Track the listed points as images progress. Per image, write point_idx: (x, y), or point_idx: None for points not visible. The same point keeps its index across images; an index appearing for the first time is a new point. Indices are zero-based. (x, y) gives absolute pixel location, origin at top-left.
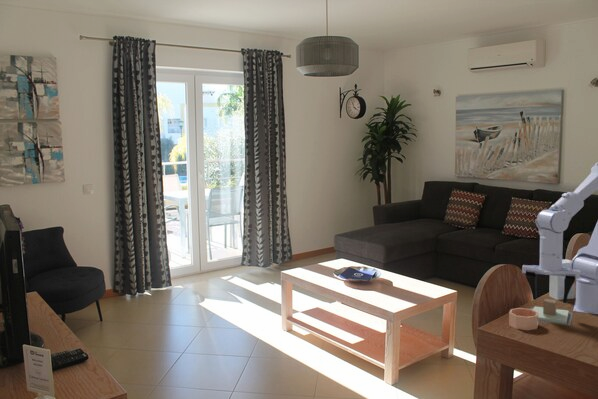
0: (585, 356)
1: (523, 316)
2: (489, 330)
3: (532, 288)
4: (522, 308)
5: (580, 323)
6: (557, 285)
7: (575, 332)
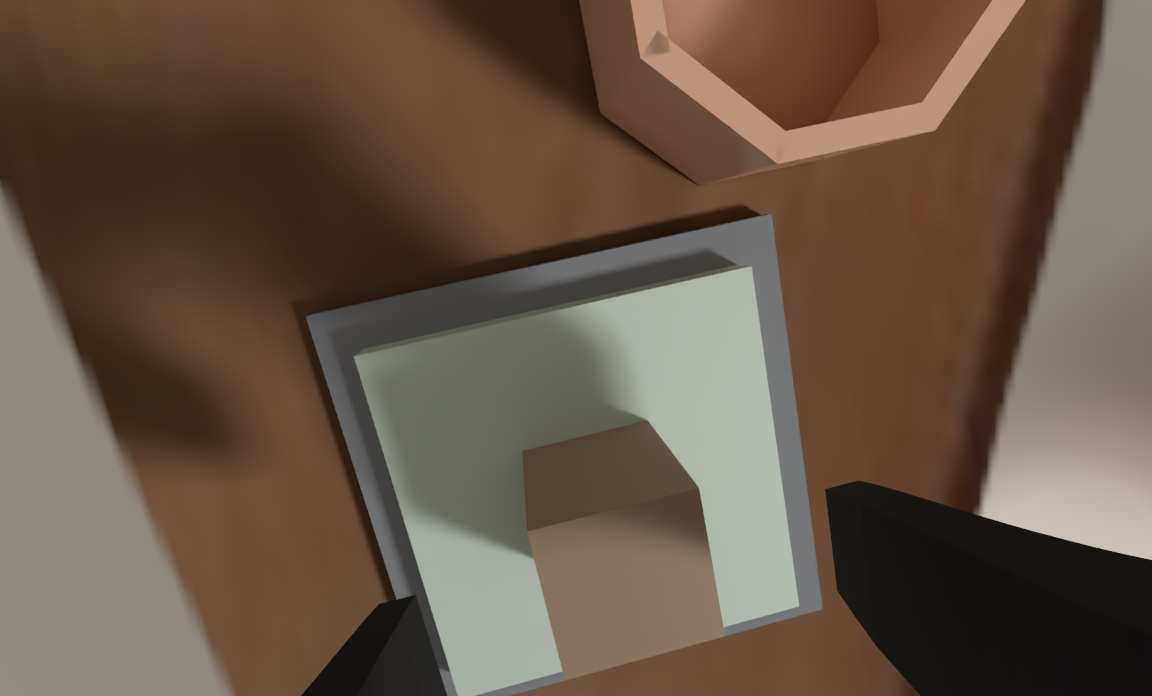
0: None
1: None
2: None
3: (1055, 554)
4: (896, 122)
5: (275, 502)
6: None
7: (203, 190)
